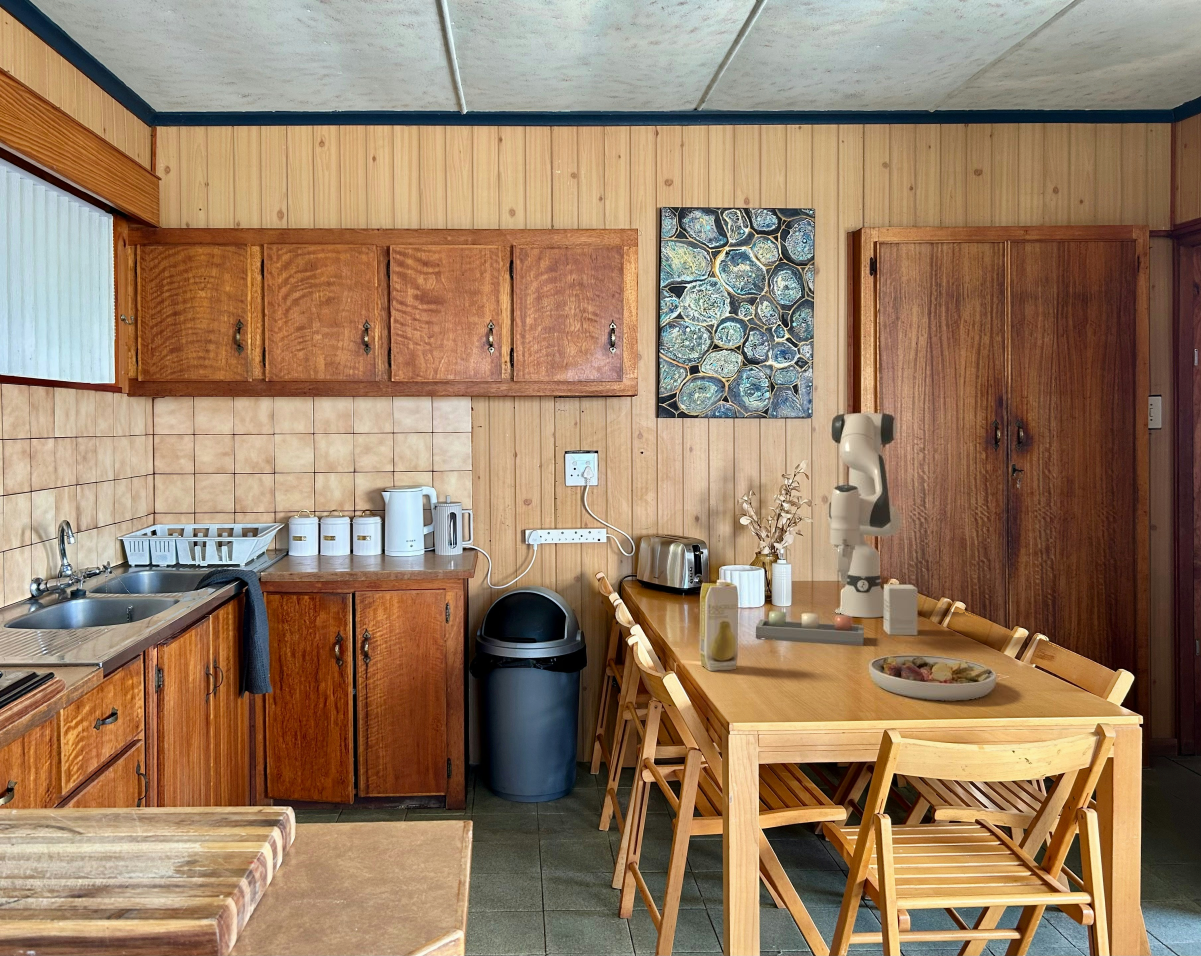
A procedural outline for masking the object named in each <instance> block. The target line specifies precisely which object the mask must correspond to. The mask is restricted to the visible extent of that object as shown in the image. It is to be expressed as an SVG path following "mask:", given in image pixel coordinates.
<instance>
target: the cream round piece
mask: <svg viewBox="0 0 1201 956" xmlns="http://www.w3.org/2000/svg"><path fill="white" fill-rule="evenodd" d="M801 622H802V628H805V629H818V628H819V623H820V615H819V613H813V612H804V613H801Z"/></svg>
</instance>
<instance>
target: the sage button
mask: <svg viewBox="0 0 1201 956" xmlns="http://www.w3.org/2000/svg"><path fill="white" fill-rule="evenodd" d="M768 620H769V626H773V627H785V626H786V621H787V612H786V611H781V610H780V611H779V610H776V611H775V610H773V611H771V610H770V611H769V612H768Z"/></svg>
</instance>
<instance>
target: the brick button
mask: <svg viewBox="0 0 1201 956" xmlns="http://www.w3.org/2000/svg"><path fill="white" fill-rule="evenodd" d="M834 624H835V630H838V631H851V630H852V625H853V616H849V615H844V614H836V615H834Z"/></svg>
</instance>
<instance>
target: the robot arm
mask: <svg viewBox="0 0 1201 956" xmlns="http://www.w3.org/2000/svg"><path fill="white" fill-rule="evenodd" d="M829 432H830V435H831V438H832V439H831V440H832V441H834V442H835V443H836V444H839V456H840V459H841V461H842V462H843V463H844V465H846V466H847V467H848V484H841V485H836V486H835V487H833V488H832V493H831V499H830V502H829V505H828V506H829V507H828V511H829V512H828V515H827V523H828V526H829V543H830V544H831V545H833V549H834V550H836V551H837V553H836V556H837V557H836V571H837V573H839V574H840V584H842V585H845V586H844V587H842V589H841V591H840V606H839V607H837V608H835V610H834V613H835V612H836V613H835V614H840V613H841V614H840V615H849V616H852V617H857V618H881V617H884V589H883V588H882V587H881V585H882V577H881V574H880V569H881V568H880V564H881V562H880V561H881V557H880V556H881V555H880V553H879V551H878V550H877V549H876V548H875V547H873V546H872V545H870V544H868V542H867V541H866V538H865V536H871V537H889V536H894V535H896V534H898V532H900V529H901V526H902V523H903V519H902V516H901V515H902V514H901V513H900V511H899V510H898V508H897V507H895V506H894V505H893V504H892V503H891V500H890V496H889V486H888V485H889V483H888V477H887V471H886V470H887V469H886V464H885V459H884V457H883V454H882V448H886V446H887V445H890V444H892V442H893V441H895V438H896V436H897V433H898V424H897V421H896V418H895V417H894V416H893V414H889V413H884V412H883V413H878V412H877V413H876V412H860V413H858V412H857V413H848V414H845V413H840V414H837V415H835V416H834V417H833V418H832V420H831V423H830V427H829ZM881 445H882V447H881Z"/></svg>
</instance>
